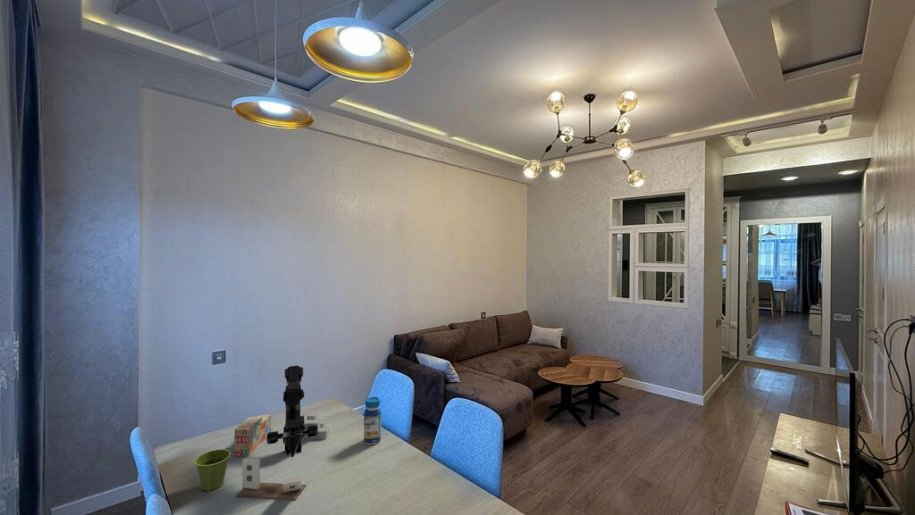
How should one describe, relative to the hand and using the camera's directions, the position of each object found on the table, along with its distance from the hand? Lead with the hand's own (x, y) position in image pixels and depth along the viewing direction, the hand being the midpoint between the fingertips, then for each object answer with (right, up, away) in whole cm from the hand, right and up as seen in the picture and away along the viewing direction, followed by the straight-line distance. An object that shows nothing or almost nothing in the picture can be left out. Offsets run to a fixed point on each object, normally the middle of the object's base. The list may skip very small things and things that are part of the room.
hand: (292, 456), depth 147 cm
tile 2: (-14, -9, -4) cm, 17 cm away
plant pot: (-31, -11, -1) cm, 32 cm away
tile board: (-6, -11, -4) cm, 13 cm away
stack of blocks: (-32, -10, +31) cm, 45 cm away
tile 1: (+2, -9, -5) cm, 11 cm away
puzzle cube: (-6, -10, +41) cm, 43 cm away
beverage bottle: (+24, -10, +34) cm, 43 cm away
